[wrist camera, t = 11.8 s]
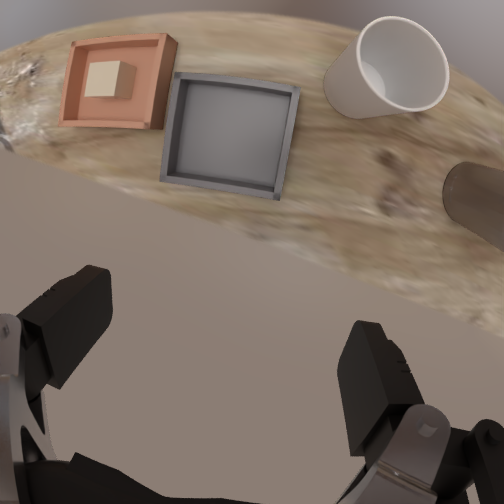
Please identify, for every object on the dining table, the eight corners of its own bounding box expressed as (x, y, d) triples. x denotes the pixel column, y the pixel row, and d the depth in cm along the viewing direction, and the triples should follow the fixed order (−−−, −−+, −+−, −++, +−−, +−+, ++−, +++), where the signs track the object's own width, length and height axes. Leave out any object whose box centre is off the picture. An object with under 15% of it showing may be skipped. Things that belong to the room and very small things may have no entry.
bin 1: (177, 42, 32) (166, 33, 27) (162, 129, 36) (149, 129, 32) (89, 47, 32) (72, 41, 27) (76, 125, 36) (58, 126, 32)
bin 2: (297, 92, 34) (300, 87, 29) (278, 193, 38) (279, 200, 34) (185, 78, 34) (175, 72, 29) (171, 176, 38) (159, 181, 34)
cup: (309, 84, 33) (334, 50, 18) (353, 46, 30) (399, 0, 16) (356, 132, 35) (408, 132, 20) (397, 93, 32) (465, 76, 17)
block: (136, 67, 32) (120, 60, 28) (131, 99, 34) (113, 95, 29) (108, 68, 32) (90, 62, 28) (103, 99, 34) (84, 96, 29)
